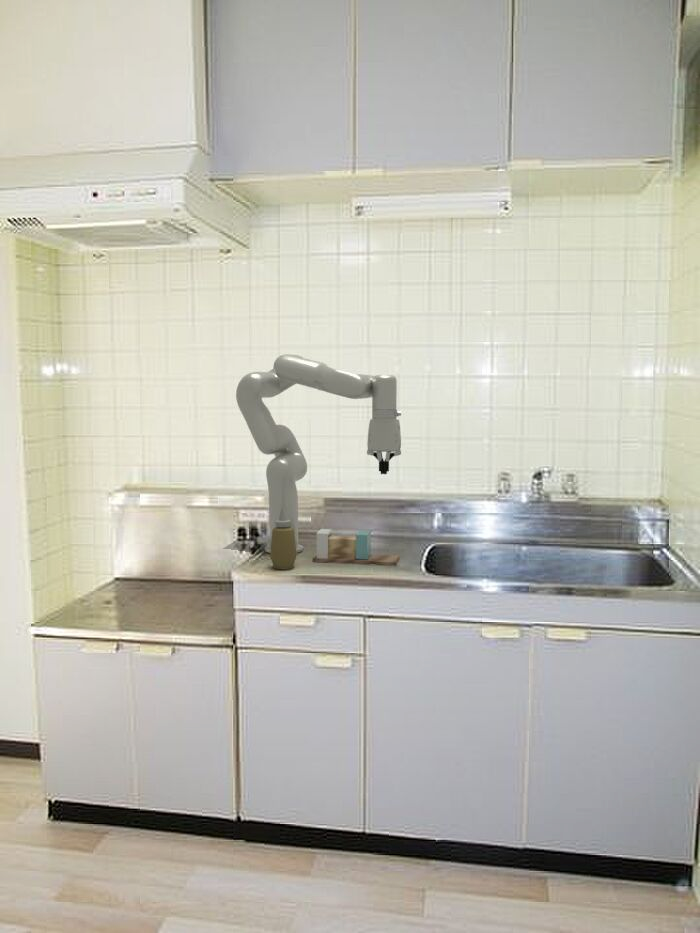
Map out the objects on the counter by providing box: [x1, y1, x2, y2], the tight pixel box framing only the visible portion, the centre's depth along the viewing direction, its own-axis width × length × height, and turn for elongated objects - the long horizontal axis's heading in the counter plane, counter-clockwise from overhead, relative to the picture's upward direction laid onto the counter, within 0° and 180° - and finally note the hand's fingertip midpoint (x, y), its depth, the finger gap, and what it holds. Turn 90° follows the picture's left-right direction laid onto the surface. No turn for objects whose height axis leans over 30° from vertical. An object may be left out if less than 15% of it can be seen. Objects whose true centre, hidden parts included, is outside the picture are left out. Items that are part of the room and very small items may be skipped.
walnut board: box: [312, 554, 400, 566], centre depth 232 cm, size 26×9×2 cm, turn 80°
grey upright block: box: [315, 528, 333, 559], centre depth 234 cm, size 4×7×8 cm, turn 170°
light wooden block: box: [328, 535, 356, 559], centre depth 233 cm, size 14×4×6 cm, turn 80°
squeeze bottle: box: [269, 508, 298, 570], centre depth 222 cm, size 8×8×18 cm
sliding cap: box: [355, 529, 372, 559], centre depth 232 cm, size 4×7×8 cm, turn 170°
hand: (383, 473), depth 232 cm, fingers closed
